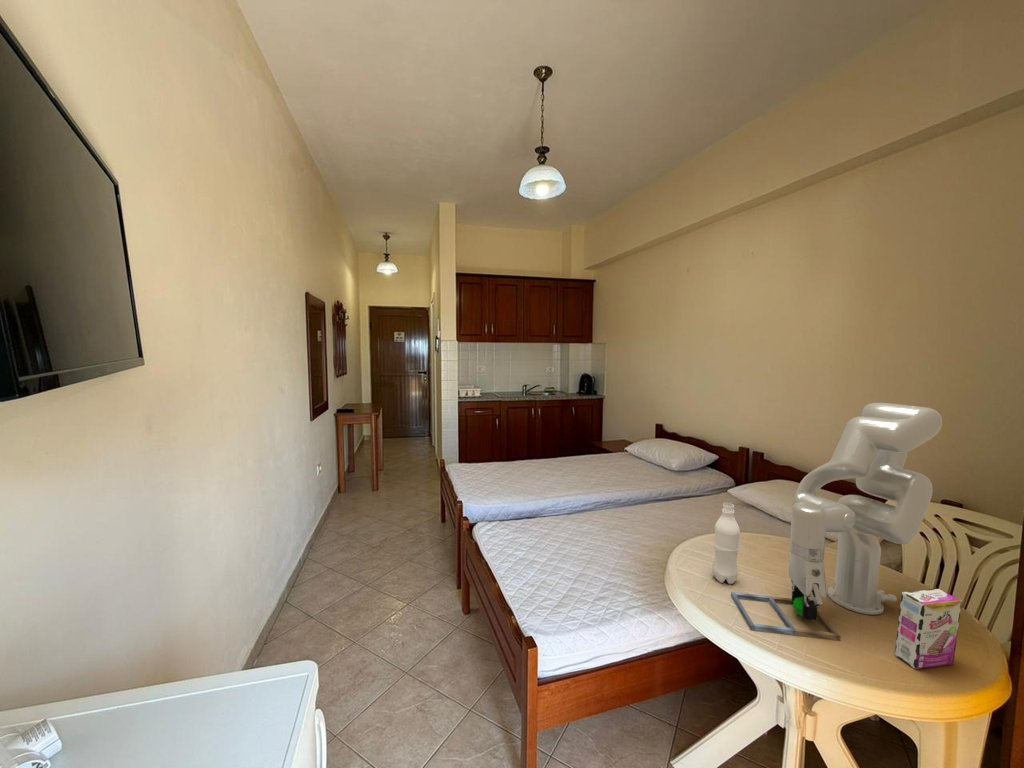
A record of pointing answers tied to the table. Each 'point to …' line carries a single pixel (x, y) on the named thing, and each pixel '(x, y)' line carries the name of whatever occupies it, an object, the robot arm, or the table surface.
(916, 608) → the candy bar box
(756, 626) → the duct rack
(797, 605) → the polyhedron
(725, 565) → the water bottle
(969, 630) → the table surface
